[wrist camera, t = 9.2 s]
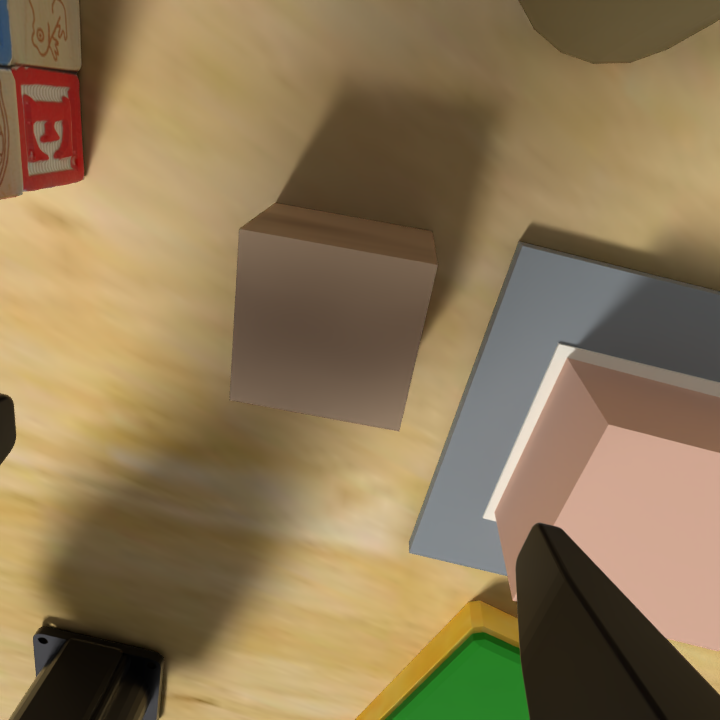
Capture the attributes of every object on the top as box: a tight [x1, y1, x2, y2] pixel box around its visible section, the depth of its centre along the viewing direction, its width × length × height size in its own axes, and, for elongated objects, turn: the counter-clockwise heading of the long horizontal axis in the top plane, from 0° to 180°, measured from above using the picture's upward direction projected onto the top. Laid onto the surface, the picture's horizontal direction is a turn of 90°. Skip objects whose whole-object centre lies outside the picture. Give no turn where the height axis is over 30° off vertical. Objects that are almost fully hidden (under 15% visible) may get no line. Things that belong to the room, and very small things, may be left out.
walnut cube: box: [230, 203, 438, 431], centre depth 16 cm, size 5×5×4 cm
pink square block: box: [494, 358, 720, 651], centre depth 17 cm, size 7×7×4 cm
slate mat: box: [409, 241, 720, 576], centre depth 19 cm, size 13×12×1 cm
